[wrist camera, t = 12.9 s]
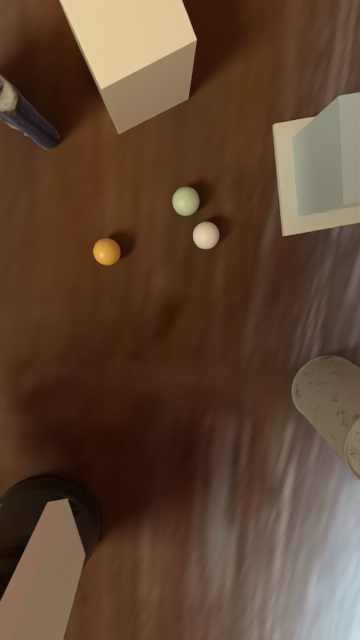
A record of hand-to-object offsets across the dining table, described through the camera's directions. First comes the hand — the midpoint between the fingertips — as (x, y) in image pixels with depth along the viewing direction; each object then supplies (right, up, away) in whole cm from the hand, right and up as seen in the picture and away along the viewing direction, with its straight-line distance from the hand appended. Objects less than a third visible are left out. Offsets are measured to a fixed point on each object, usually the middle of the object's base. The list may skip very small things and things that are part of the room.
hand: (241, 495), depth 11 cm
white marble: (0, +17, +23) cm, 29 cm away
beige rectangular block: (-7, +33, +20) cm, 39 cm away
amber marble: (-12, +14, +23) cm, 30 cm away
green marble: (-2, +20, +23) cm, 30 cm away
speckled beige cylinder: (+18, -3, +29) cm, 34 cm away
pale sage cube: (+15, +24, +22) cm, 36 cm away
